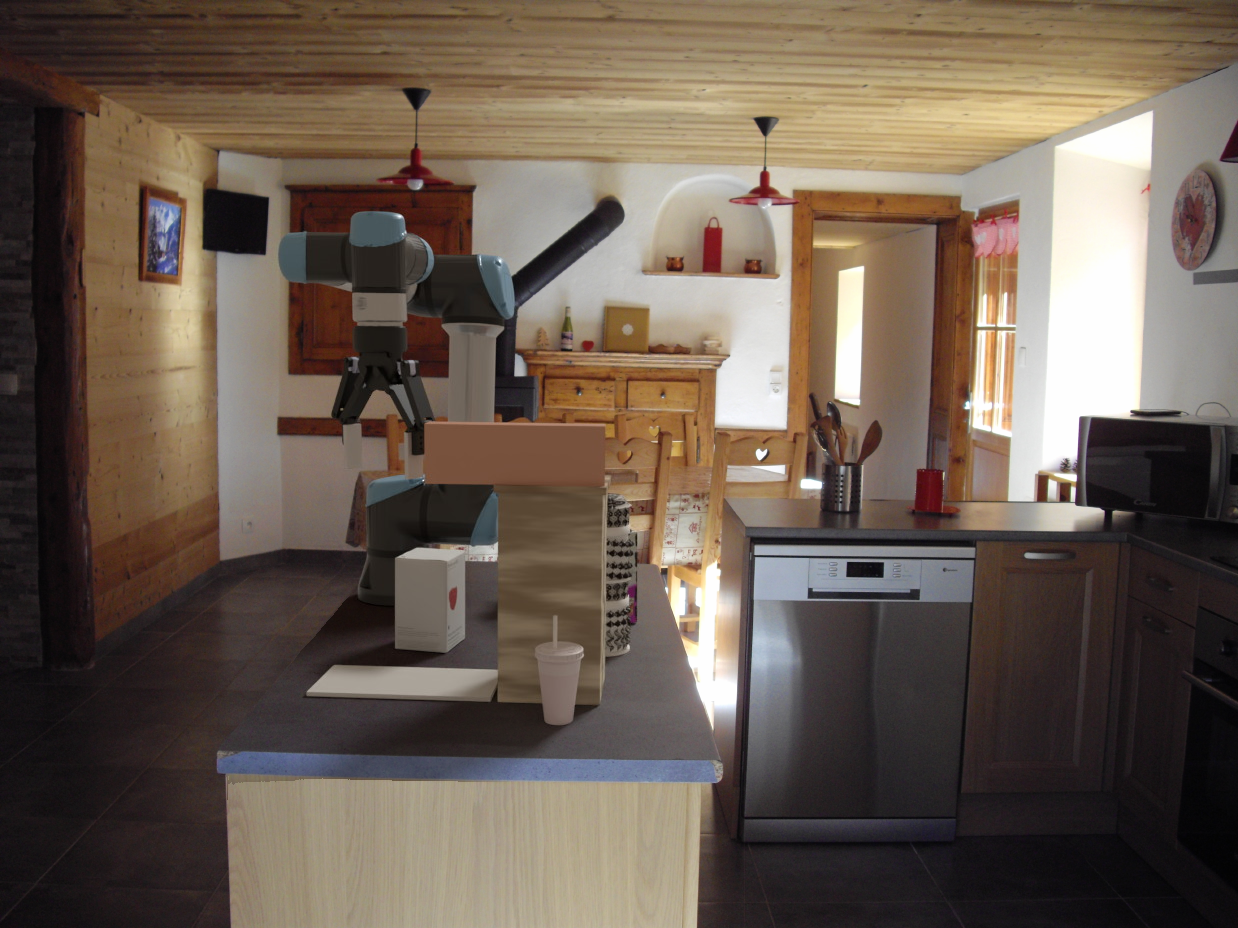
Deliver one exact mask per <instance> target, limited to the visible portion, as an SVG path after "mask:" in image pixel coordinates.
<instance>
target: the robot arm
mask: <svg viewBox="0 0 1238 928" xmlns="http://www.w3.org/2000/svg"><path fill="white" fill-rule="evenodd" d="M278 244H279V245H278V252H277V253H278V254H277V258H278V259H277V261H278V267H279V271H280V273H281V274H282V276H283V277H284V279H285V280H286V281H288V282H291V283H298V284H299V283H302V284H304V285H305V284H321V285H325V286H329V287H333V288H337V289H340V290H345V291H347V292H351V293H352V297H351V299H352V302H351V303H352V304H351V305H352V320H353V322H357V323H356V325H353V328H352V349H353V351H354V352H356V353H358V354H359V356H348V357H347V356H346V357H344V358H343V370H342V375H341V379H340V382H339V386H338V389H337V392H336V396H335V399H334V403H333V405H332V409H331V414H330V416H331V418H332V419H334V420H337V421H338V422H339V424H340V425H341V442H342V445H343V470H354V469H359V468H361V469H362V468H363V438H362V437H363V436H362V434H363V433H362V424H361V422H362V421H361V419H360V416H361V415H362V413H363V411H364V410H365V408H366V405H367V404H368V402H369V400H370V399H371V397H372V395H373V394H374V393H373V392H375V391H379V392H384V393H385V394H386V395H388V396H390V398H391V401H392V403H393V404H394V406H395V408H396V410H397V411H398V413H399V416H400V417H401V419H402V420H403V422H404V425H405V426H406V429H405V431H404V432H403V443H404V445H403V448H404V449H403V452H404V474H399V475H392V476H386V477H382V478H378V479H377V478H376V479H373V480H372V481H370V483H369V484H368V485H367V487H366V499H365V500H366V501H365V505H364V507H365V522H366V523H365V524H366V526H365V527H366V529H365V530H366V559H365V563H364V565H363V569H362V573H361V575H360V578H359V582H358V585H357V599H358V601H361V602H363V603H367V604H371V605H375V606H376V605H378V606H395V558H396V557H398V556H401V555H403V554H404V553H406V552H409V551H411V550H413V549H415V548H430V545H449V546H450V545H452V546H455V545H456V546H470V547H473V548H474V547H479V546H480V547H481V546H484V547H485V546H486V547H487V546H489V547H490V546H494V545H495V544H496V543H497V544H498V493H494V485H489V484H425V472H424V456H425V442H424V424H425V423H427V422H429V421H435V422H437V421H436V419H435V415H434V412H433V410H432V407H431V406H432V405H431V403H430V401H429V397H428V394H427V392H426V390H425V389H426V388H425V386H424V383H423V380H422V377H421V368H420V362H419V360H417V359H409V360H407V359H406V360H404V359H403V354H404V353H405V352H407V350H408V328H406V326H403V323H406V322H407V321H408V315H409V314H410V315H413V316H418V317H423V318H433V319H434V318H436V319H437V318H438V319H439V318H440V319H441V328H442V329H443V330H444V331H445V332H446V333H447V335H448V336H449V347H448V349H449V350H448V352H449V355H448V357H449V358H448V390H447V392H448V394H447V395H448V397H447V398H448V399H447V422H495V394H496V393H495V392H496V391H495V390H496V388H495V387H496V353H497V352H496V350H497V348H496V347H497V344H496V343H497V338H498V336H499V335H500V334H502V332H503V331H504V330H505V320H506V321H507V320H509V319H512V318H513V317H514V314H515V306H516V305H515V304H516V303H515V299H516V298H515V290H514V283H513V277H512V274H511V271H510V268H509V266H508V264H507V262H506V261H505V260H504V259H503V258H502V257H501V256H498V255H489V254H481V253H477V254H434V252H433V249H432V247H431V246H430V244H429V243H428V242H427V241H426V240H425V239H423V238H422V237H420V236H418V235H417V234H414V233H413V232H407V230H406V221H405V218H404V216H403V215H402V214H400V213H396V212H390V211H371V210H370V211H359V212H358V211H357V212H356V213H354V214H353V215H352V216H351V217H350V230H349V232H324V231H323V232H317V231H314V232H313V231H312V232H311V231H310V232H308V231H306V230H303V231H302V232H301V231H300V232H288V233H286V234H284V235H283V237H282V238H281V239H280V242H279V243H278Z"/></svg>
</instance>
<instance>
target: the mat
mask: <svg viewBox="0 0 1238 928" xmlns="http://www.w3.org/2000/svg"><path fill="white" fill-rule="evenodd" d="M497 690H498V669H487V668H485V669H482V668H454V667H453V668H450V667H447V668H445V667H418V666H417V667H416V666H415V667H414V666H385V665H384V666H383V665H378V666H377V665H352V664H351V665H348V664H347V665H345V664H344V665H343V664H334V665H332V666H331V667H330V668H329V669H328V670H327V671H326V672H325V673H324V674H323V675H322V676H321V677H320V678H319V679H318V680H317V681H316V682H315V683H314V684H312V686H311V687H310V688H308V690H306V697H322V698H323V697H326V698H329V697H330V698H352V699H354V698H355V699H357V698H360V699H394V700H417V701H418V700H422V701H423V700H424V701H452V702H453V701H456V702H457V701H458V702H485V703H486V702H488V703H491V702H492V699H493V697H494V695H495V693H496V691H497Z"/></svg>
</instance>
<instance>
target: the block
mask: <svg viewBox="0 0 1238 928" xmlns="http://www.w3.org/2000/svg"><path fill="white" fill-rule="evenodd" d="M435 421H436V420H435ZM435 421H429V422H427V423H425V424H424V442H425V453H424V473H425V484H489V485H565V486H605V475H606V463H605V462H606V423H579V422H578V423H570V422H569V423H566V422H564V423H563V422H561V423H560V422H558V423H557V422H499V421H498V422H495V421H494V422H448V421H436V422H435Z"/></svg>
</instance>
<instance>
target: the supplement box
mask: <svg viewBox="0 0 1238 928" xmlns="http://www.w3.org/2000/svg"><path fill="white" fill-rule="evenodd" d="M394 617H395V618H394V648H395V649H396V650H407V651H417V652H418V651H420V652H430V653H431V652H432V653H434V652H435V653H443V654H447V653H448V652H449V651H451V650H452V649H453V648H454V647H456V646H457V645H458V644H460V643H461V642H462V641H463V640H465V639H466V550H462V549H445V548H432V547H429V548H415V549H413V550H411V551H409V552H406V553H404V554H403V555H401V556H398V557H396V558H395V605H394Z"/></svg>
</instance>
